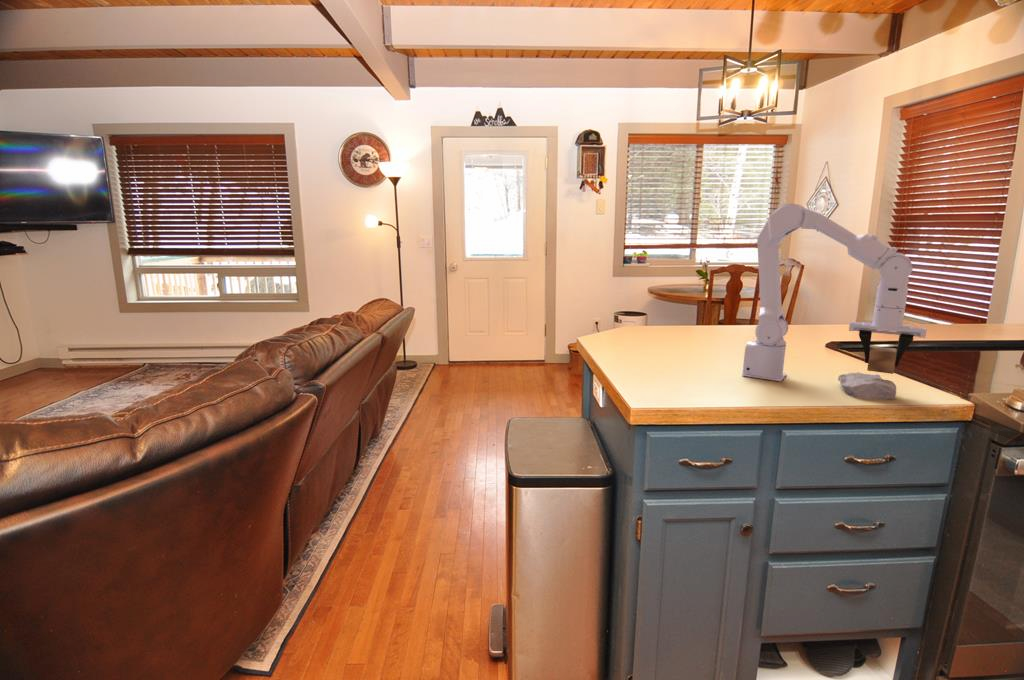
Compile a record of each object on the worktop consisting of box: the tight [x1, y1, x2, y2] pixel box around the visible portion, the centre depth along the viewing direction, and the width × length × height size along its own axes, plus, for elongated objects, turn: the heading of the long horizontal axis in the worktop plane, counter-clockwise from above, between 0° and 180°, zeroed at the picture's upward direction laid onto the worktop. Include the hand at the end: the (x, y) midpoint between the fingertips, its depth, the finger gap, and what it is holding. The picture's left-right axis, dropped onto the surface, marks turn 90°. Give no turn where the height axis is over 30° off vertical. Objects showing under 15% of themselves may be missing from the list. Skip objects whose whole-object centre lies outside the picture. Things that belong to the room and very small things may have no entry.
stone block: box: [837, 372, 897, 401], centre depth 126 cm, size 12×5×10 cm
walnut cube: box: [866, 345, 897, 375], centre depth 124 cm, size 5×5×5 cm
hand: (881, 363), depth 124 cm, fingers closed on walnut cube, 5 cm apart
